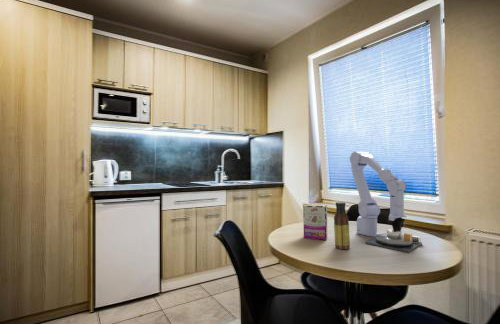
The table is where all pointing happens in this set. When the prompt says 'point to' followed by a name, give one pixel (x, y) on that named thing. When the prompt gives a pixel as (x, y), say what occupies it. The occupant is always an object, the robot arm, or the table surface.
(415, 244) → the base plate
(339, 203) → the sauce bottle
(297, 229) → the table surface
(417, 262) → the table surface
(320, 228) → the candy bar box
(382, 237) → the turntable
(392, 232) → the cover
